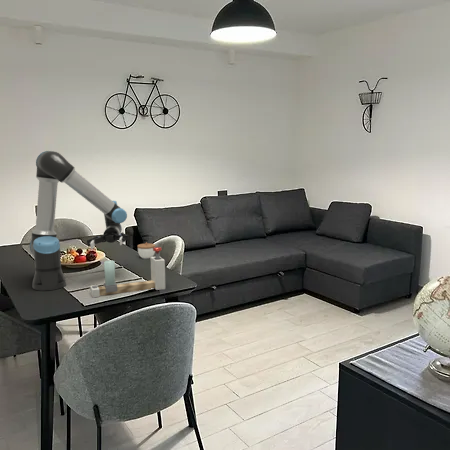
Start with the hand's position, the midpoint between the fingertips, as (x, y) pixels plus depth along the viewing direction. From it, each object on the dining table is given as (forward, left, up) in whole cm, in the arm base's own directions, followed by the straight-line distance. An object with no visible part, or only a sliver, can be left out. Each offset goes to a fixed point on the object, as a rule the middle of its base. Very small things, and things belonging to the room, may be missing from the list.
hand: (106, 244), depth 217 cm
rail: (+7, -10, -21) cm, 24 cm away
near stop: (-7, -10, -21) cm, 24 cm away
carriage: (0, -10, -20) cm, 22 cm away
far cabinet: (+22, -10, -21) cm, 32 cm away
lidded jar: (+33, +51, -21) cm, 65 cm away
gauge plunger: (+22, -10, -13) cm, 27 cm away
